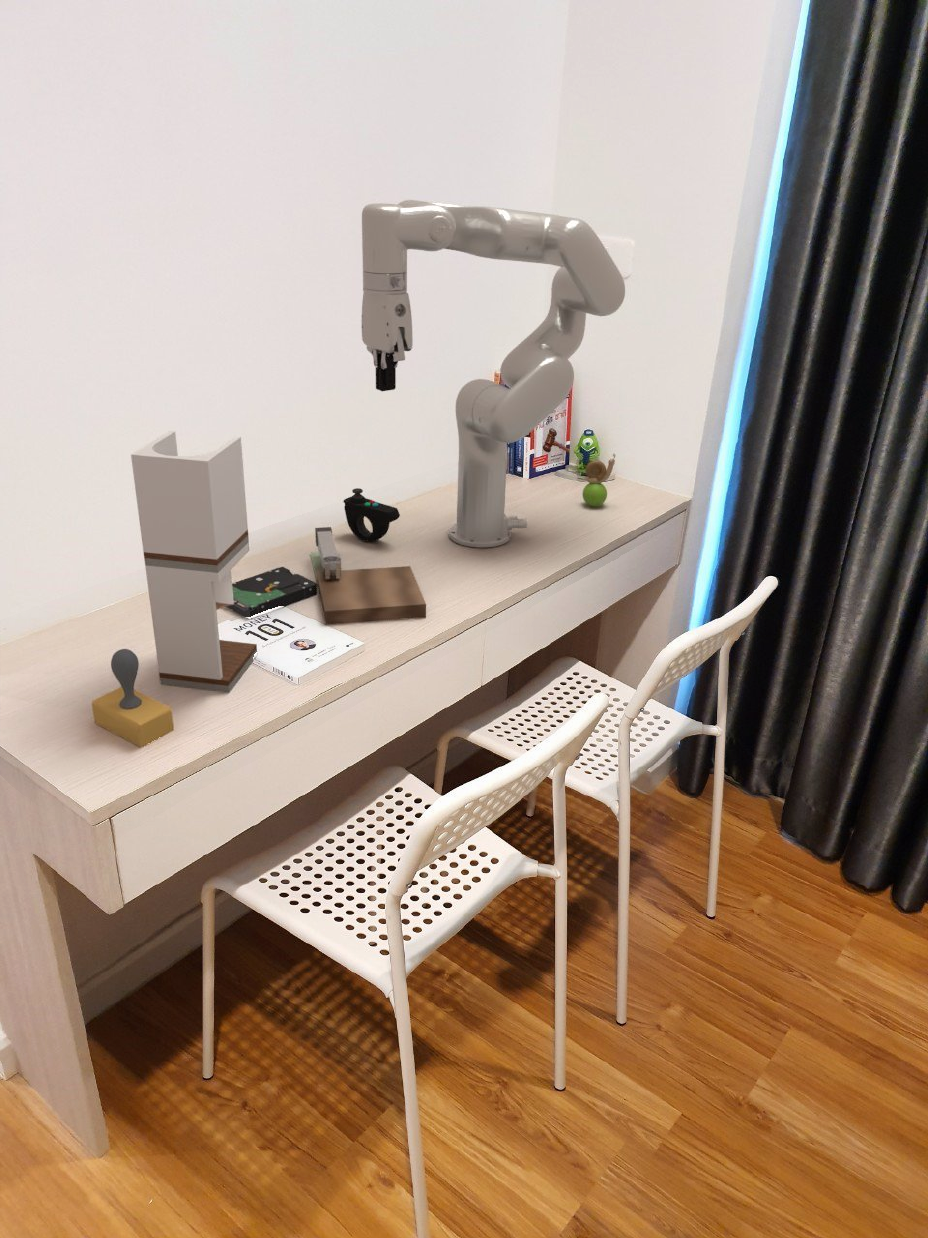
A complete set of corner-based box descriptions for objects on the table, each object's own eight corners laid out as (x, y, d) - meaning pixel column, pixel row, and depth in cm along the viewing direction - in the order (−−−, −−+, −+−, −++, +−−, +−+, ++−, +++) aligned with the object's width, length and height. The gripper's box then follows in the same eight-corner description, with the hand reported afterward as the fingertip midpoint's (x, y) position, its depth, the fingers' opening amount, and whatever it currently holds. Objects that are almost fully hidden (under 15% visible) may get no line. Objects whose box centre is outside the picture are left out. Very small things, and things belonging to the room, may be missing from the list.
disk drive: (282, 579, 179) (213, 603, 169) (281, 565, 178) (212, 588, 168) (318, 597, 173) (250, 622, 163) (318, 582, 171) (249, 607, 162)
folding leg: (342, 578, 171) (341, 562, 170) (323, 579, 171) (323, 563, 169) (332, 541, 186) (331, 526, 185) (315, 542, 186) (314, 527, 184)
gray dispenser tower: (229, 692, 142) (207, 461, 126) (160, 684, 143) (130, 454, 128) (257, 655, 152) (240, 436, 136) (193, 648, 154) (169, 430, 138)
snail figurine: (611, 510, 215) (617, 457, 209) (582, 509, 215) (587, 456, 209) (608, 501, 219) (614, 450, 214) (580, 501, 219) (585, 449, 214)
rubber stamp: (93, 724, 134) (80, 647, 128) (128, 706, 138) (117, 631, 133) (141, 749, 129) (130, 670, 124) (175, 729, 133) (166, 652, 128)
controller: (354, 530, 200) (353, 484, 195) (402, 545, 194) (402, 497, 189) (340, 536, 196) (339, 489, 192) (389, 551, 190) (389, 503, 186)
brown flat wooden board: (397, 549, 192) (397, 537, 190) (425, 617, 166) (426, 604, 164) (310, 554, 188) (310, 542, 187) (325, 624, 162) (324, 611, 161)
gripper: (427, 286, 163) (426, 395, 171) (380, 275, 174) (381, 378, 182) (390, 289, 159) (390, 401, 167) (343, 277, 170) (346, 383, 178)
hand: (385, 389), depth 175 cm, fingers closed
